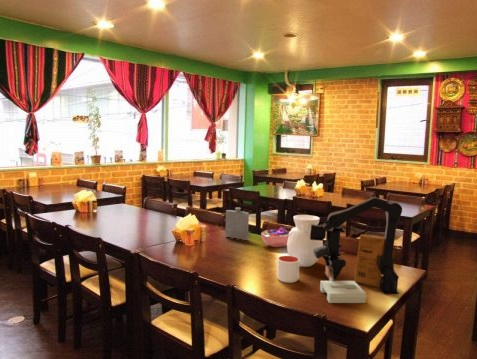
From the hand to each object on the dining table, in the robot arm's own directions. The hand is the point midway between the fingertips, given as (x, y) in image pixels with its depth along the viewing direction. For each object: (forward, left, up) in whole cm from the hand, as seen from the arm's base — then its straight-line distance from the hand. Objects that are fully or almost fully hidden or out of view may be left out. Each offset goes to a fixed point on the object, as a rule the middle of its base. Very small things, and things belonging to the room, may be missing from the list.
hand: (331, 275), depth 181 cm
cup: (+18, -8, -5) cm, 20 cm away
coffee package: (-19, -5, -5) cm, 20 cm away
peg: (0, 0, -5) cm, 5 cm away
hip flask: (+37, -81, -5) cm, 89 cm away
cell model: (+14, -64, -5) cm, 66 cm away
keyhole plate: (-1, +11, -5) cm, 12 cm away
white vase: (+5, -31, -5) cm, 32 cm away
